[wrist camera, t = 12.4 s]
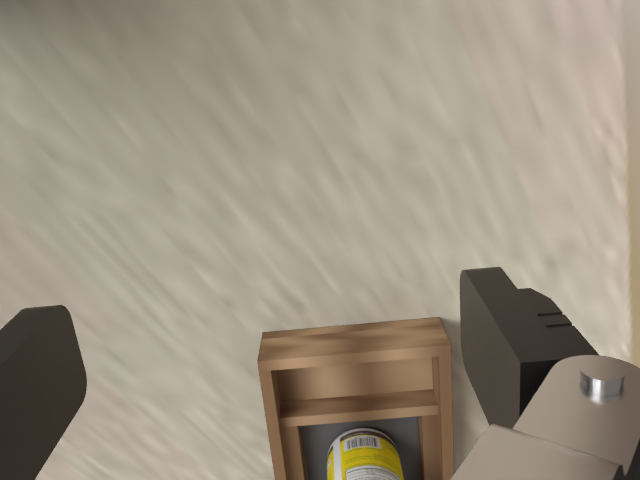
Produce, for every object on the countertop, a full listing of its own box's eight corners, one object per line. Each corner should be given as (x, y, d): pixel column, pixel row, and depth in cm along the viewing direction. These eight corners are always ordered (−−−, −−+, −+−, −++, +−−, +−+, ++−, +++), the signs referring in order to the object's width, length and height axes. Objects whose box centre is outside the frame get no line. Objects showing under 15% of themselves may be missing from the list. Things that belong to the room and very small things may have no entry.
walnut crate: (287, 503, 49) (284, 543, 45) (262, 332, 44) (257, 361, 40) (444, 491, 49) (455, 530, 45) (439, 317, 43) (450, 344, 40)
